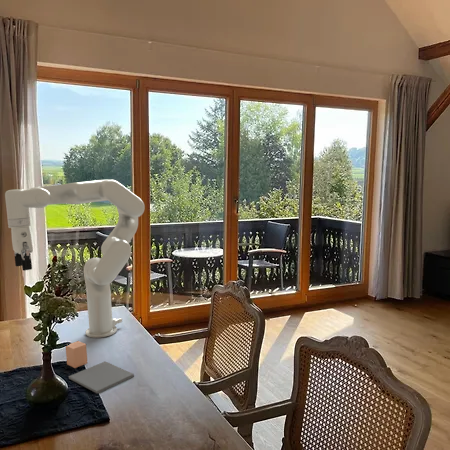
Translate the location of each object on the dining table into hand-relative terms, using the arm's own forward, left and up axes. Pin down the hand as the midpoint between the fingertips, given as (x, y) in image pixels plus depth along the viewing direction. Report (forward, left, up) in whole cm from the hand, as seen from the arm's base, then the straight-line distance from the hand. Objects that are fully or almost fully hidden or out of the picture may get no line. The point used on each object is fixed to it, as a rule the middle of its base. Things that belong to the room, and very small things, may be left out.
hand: (23, 267), depth 170 cm
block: (-3, +27, -32) cm, 42 cm away
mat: (-2, +43, -32) cm, 54 cm away
